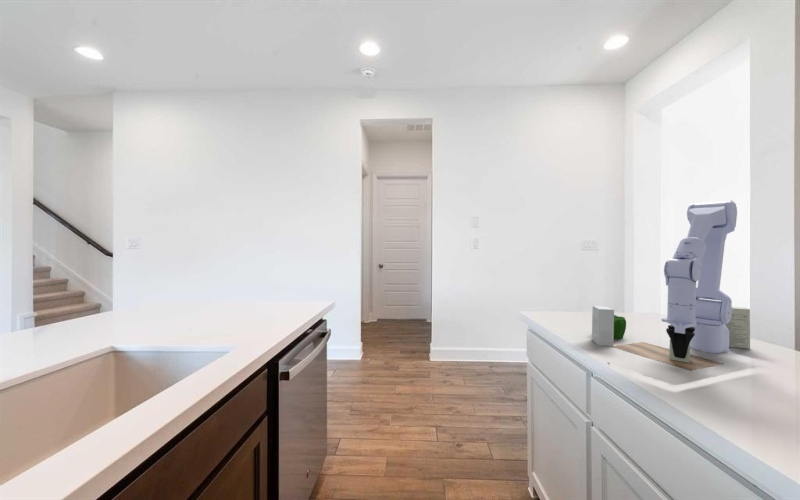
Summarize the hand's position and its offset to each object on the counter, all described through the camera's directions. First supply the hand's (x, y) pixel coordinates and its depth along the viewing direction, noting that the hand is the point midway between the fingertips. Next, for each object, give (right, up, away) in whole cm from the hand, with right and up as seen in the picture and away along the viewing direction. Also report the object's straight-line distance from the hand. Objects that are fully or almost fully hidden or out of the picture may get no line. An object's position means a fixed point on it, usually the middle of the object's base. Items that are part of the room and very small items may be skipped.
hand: (680, 355), depth 89 cm
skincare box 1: (-12, -2, +15) cm, 19 cm away
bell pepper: (-5, -2, +22) cm, 22 cm away
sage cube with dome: (0, -1, 0) cm, 1 cm away
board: (-1, -2, +4) cm, 5 cm away
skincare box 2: (+31, -2, +16) cm, 35 cm away
